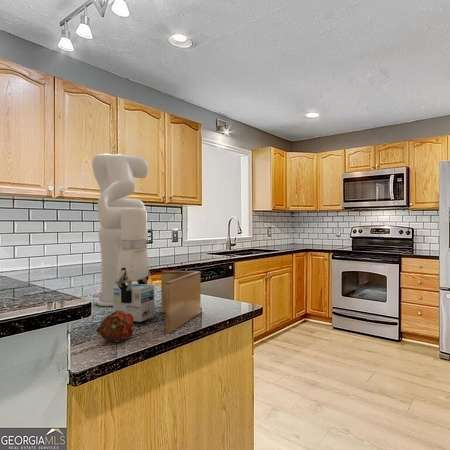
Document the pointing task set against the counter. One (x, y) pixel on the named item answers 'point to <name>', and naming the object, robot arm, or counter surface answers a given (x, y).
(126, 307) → the light bulb box
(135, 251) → the robot arm
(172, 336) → the counter surface
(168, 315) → the shelf
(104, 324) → the dragon fruit
